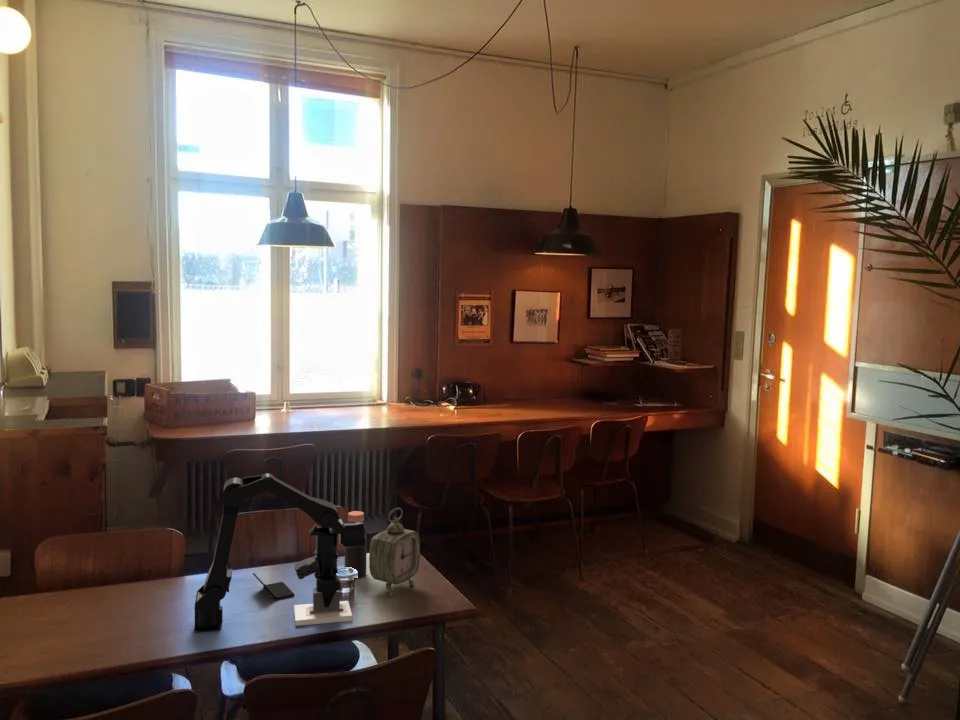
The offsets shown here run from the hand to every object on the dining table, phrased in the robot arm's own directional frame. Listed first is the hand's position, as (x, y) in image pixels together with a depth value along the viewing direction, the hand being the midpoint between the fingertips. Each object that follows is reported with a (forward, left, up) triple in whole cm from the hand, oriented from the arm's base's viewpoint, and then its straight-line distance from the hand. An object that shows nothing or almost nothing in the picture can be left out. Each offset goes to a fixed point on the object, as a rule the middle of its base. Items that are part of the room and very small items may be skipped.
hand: (326, 603), depth 213 cm
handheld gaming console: (-14, +18, -4) cm, 24 cm away
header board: (-1, 0, -3) cm, 3 cm away
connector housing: (0, 0, -1) cm, 1 cm away
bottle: (+11, +27, -4) cm, 30 cm away
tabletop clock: (+21, +14, -4) cm, 26 cm away
